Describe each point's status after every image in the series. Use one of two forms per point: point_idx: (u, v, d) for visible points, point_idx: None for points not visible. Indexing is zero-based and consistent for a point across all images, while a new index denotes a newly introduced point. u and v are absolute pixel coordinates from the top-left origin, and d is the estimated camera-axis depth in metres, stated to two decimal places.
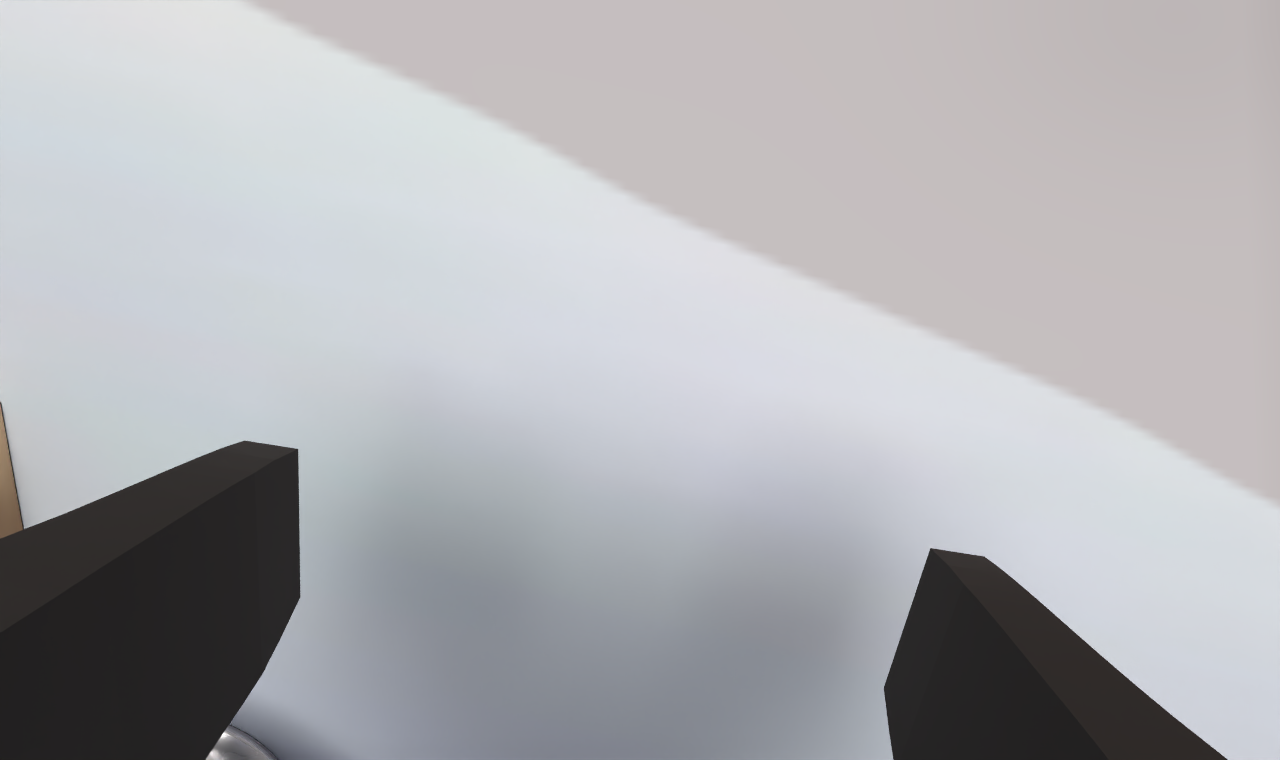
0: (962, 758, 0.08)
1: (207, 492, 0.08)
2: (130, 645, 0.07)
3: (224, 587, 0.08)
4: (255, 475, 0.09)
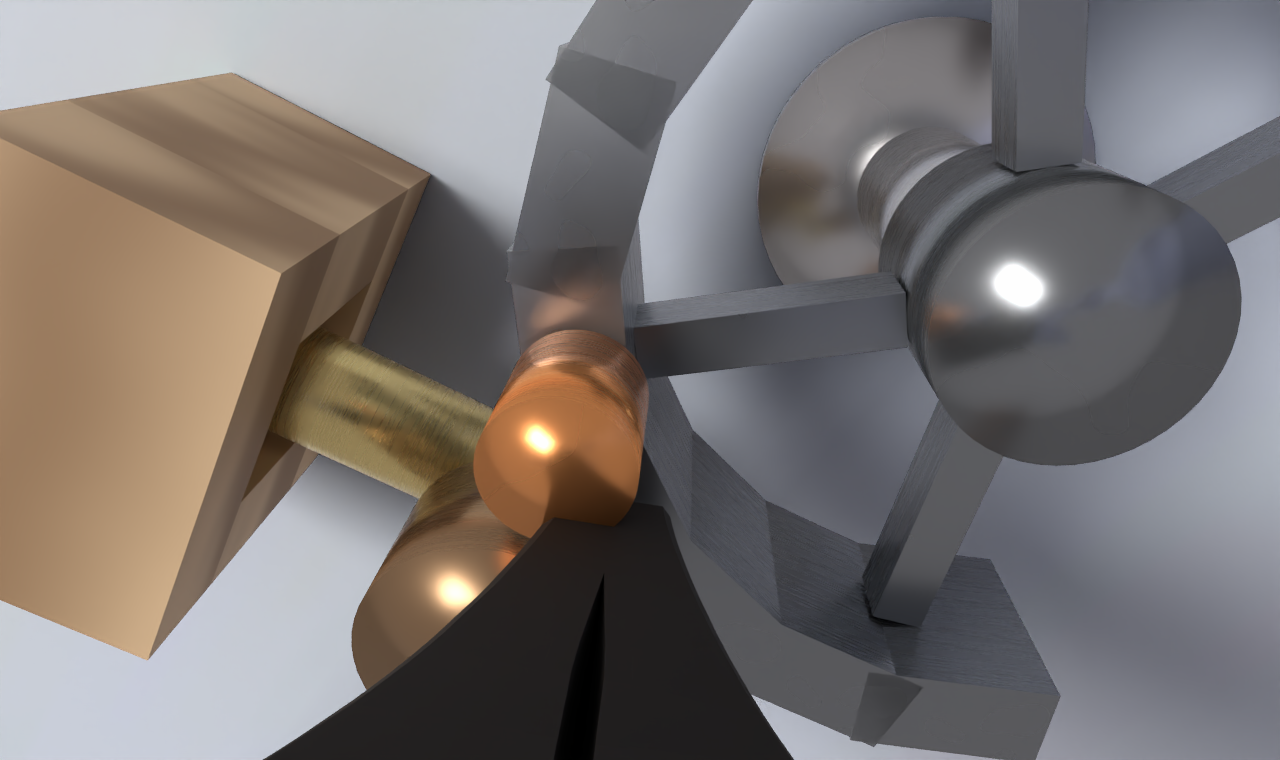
0: (584, 699, 0.08)
1: (599, 553, 0.08)
2: (571, 714, 0.07)
3: None
4: None
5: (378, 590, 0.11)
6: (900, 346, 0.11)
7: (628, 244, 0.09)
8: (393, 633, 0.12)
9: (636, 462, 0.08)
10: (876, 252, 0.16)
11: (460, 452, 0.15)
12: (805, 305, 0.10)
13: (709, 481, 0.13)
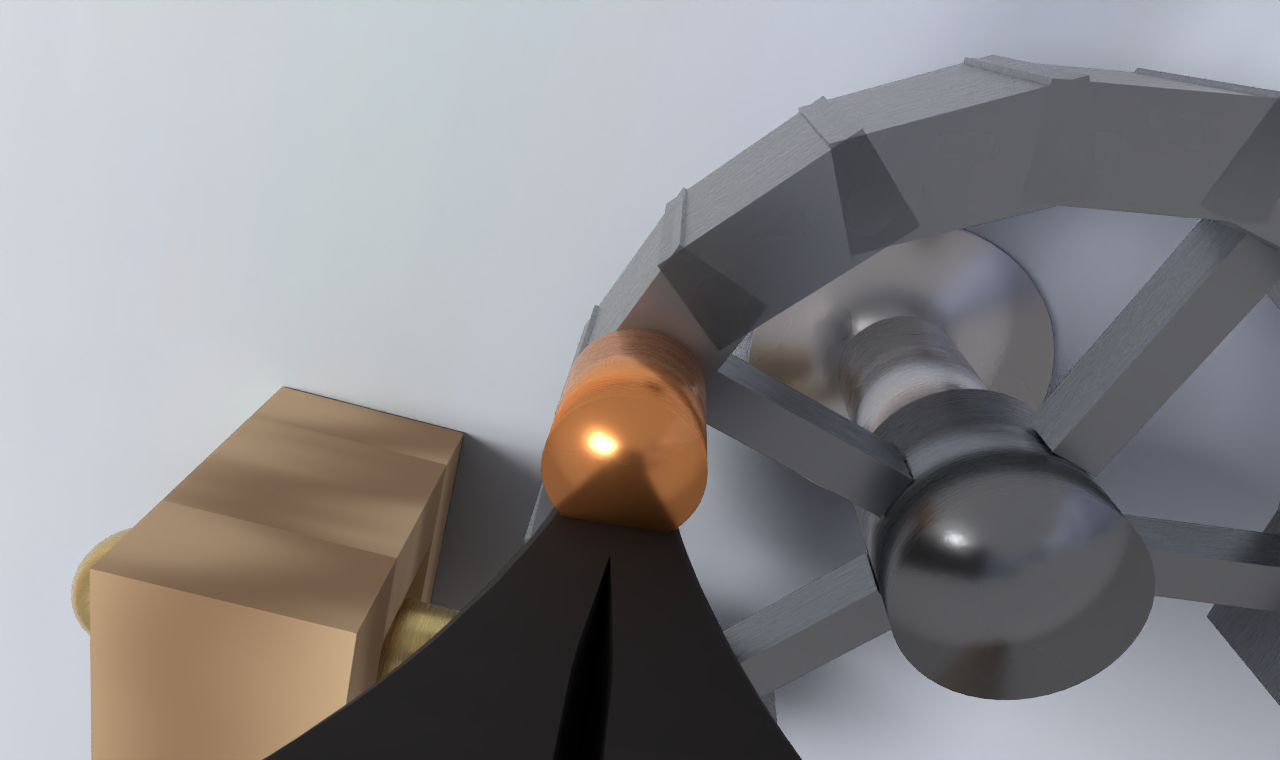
0: (591, 701, 0.08)
1: (598, 553, 0.08)
2: (570, 714, 0.07)
3: (595, 645, 0.08)
4: None
5: None
6: (876, 514, 0.12)
7: (779, 313, 0.09)
8: None
9: None
10: None
11: None
12: (836, 437, 0.11)
13: None
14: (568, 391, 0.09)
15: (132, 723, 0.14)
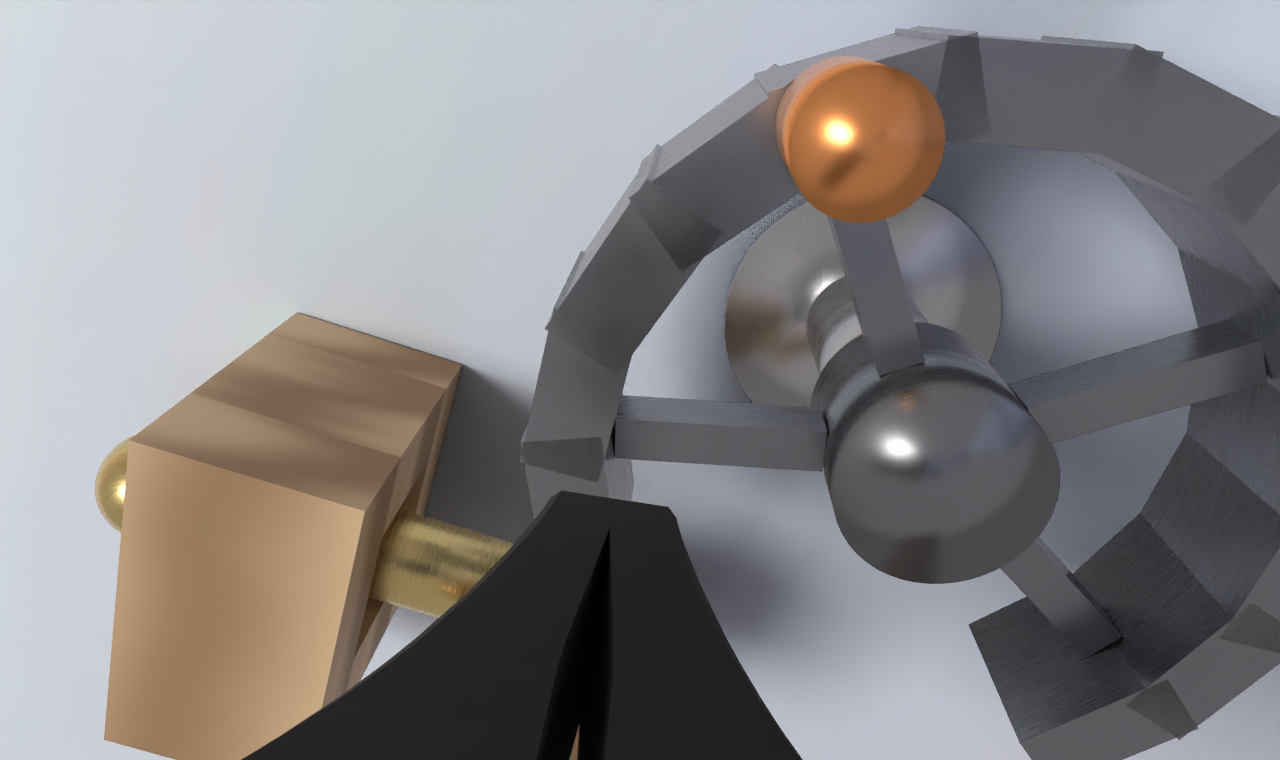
0: (591, 699, 0.08)
1: (588, 552, 0.08)
2: (559, 712, 0.07)
3: (585, 643, 0.08)
4: None
5: None
6: (879, 370, 0.13)
7: (993, 143, 0.11)
8: None
9: None
10: None
11: None
12: None
13: None
14: (845, 63, 0.09)
15: (154, 590, 0.16)
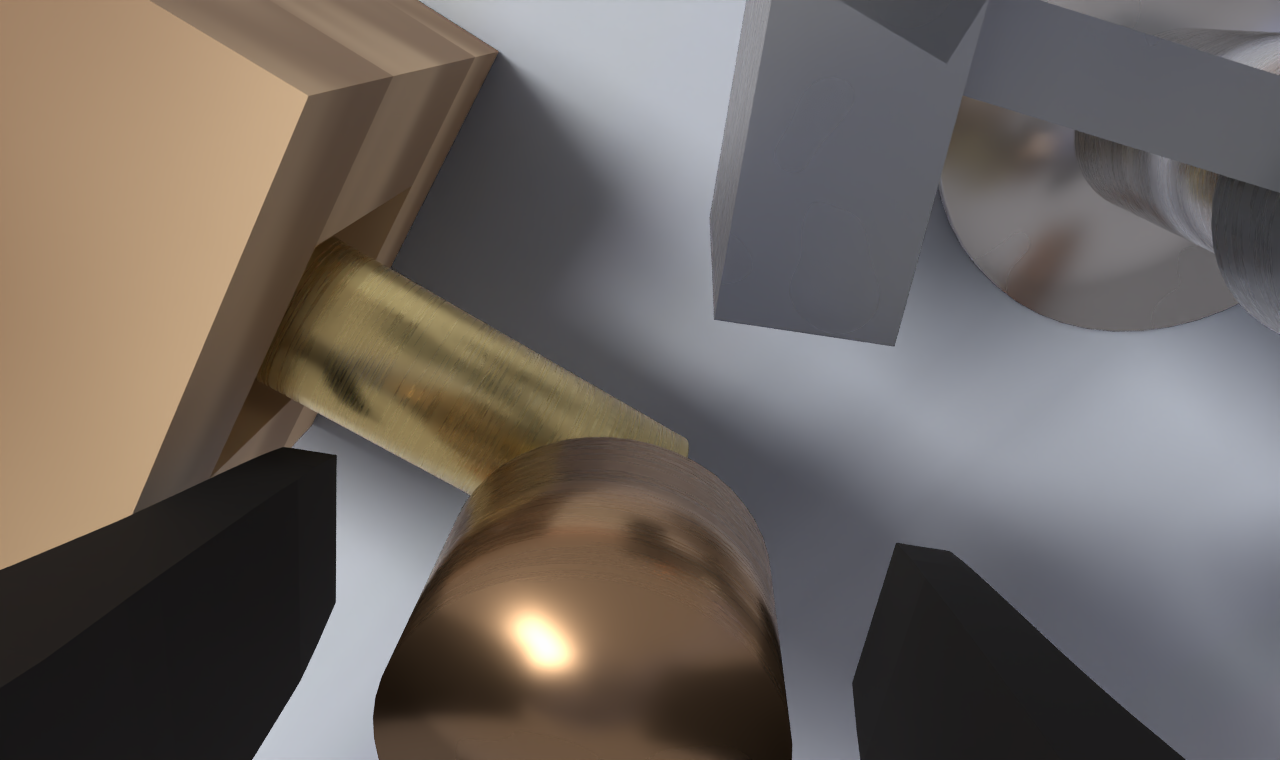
0: (922, 752, 0.08)
1: (253, 499, 0.08)
2: (182, 653, 0.07)
3: (268, 594, 0.08)
4: (297, 482, 0.09)
5: (427, 635, 0.07)
6: None
7: None
8: (442, 702, 0.07)
9: None
10: (1089, 199, 0.12)
11: (529, 427, 0.10)
12: None
13: None
14: None
15: None
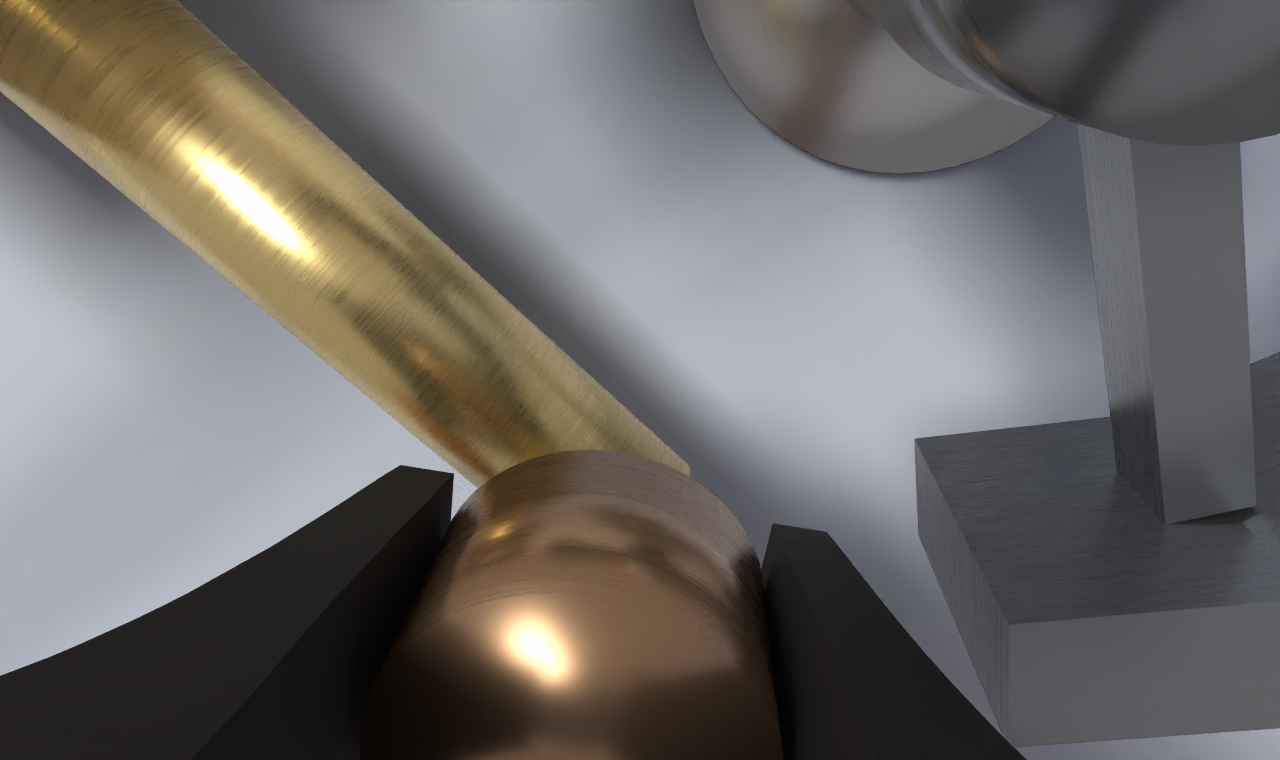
0: None
1: (394, 521, 0.08)
2: (341, 678, 0.07)
3: (402, 614, 0.08)
4: (428, 502, 0.09)
5: (445, 631, 0.07)
6: None
7: None
8: (443, 699, 0.07)
9: None
10: (836, 3, 0.11)
11: (546, 424, 0.10)
12: None
13: None
14: None
15: None
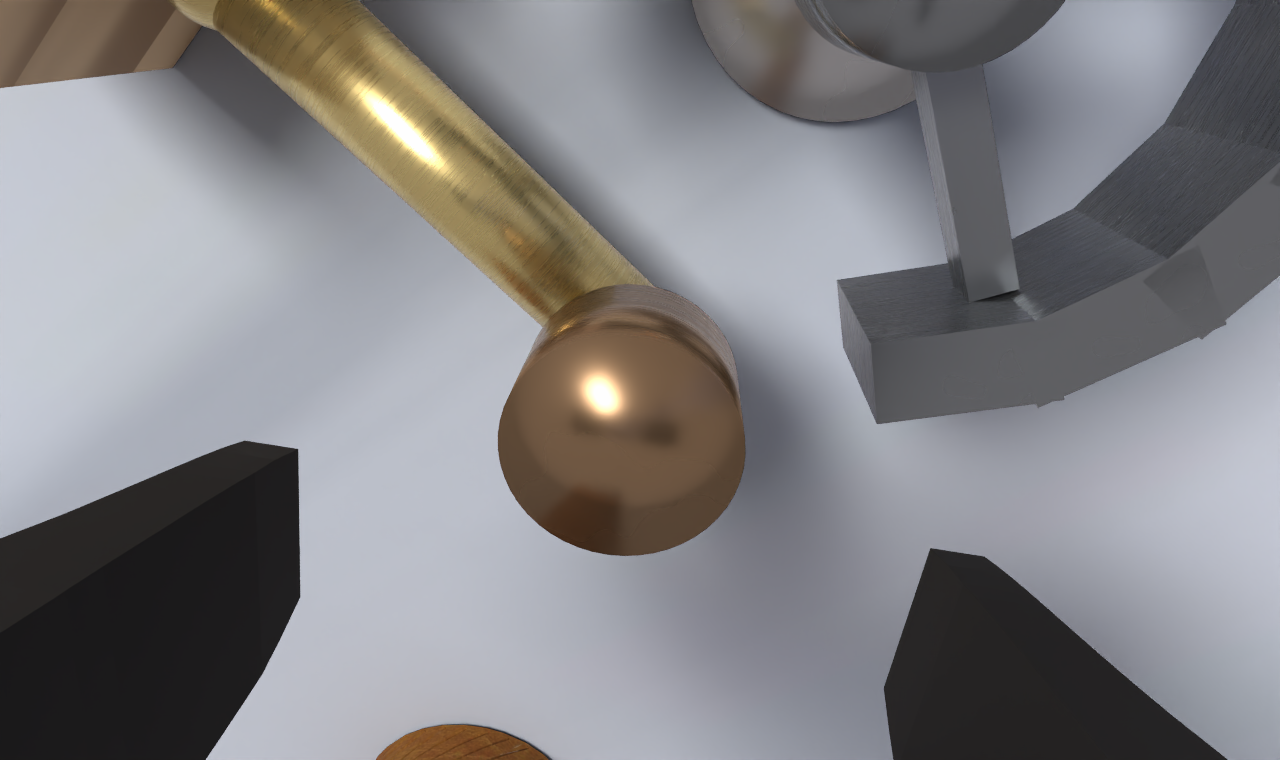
0: (963, 758, 0.08)
1: (207, 492, 0.08)
2: (130, 645, 0.07)
3: (224, 587, 0.08)
4: (255, 475, 0.09)
5: (553, 359, 0.12)
6: None
7: None
8: (549, 404, 0.12)
9: None
10: (790, 3, 0.17)
11: (596, 281, 0.15)
12: None
13: None
14: None
15: None
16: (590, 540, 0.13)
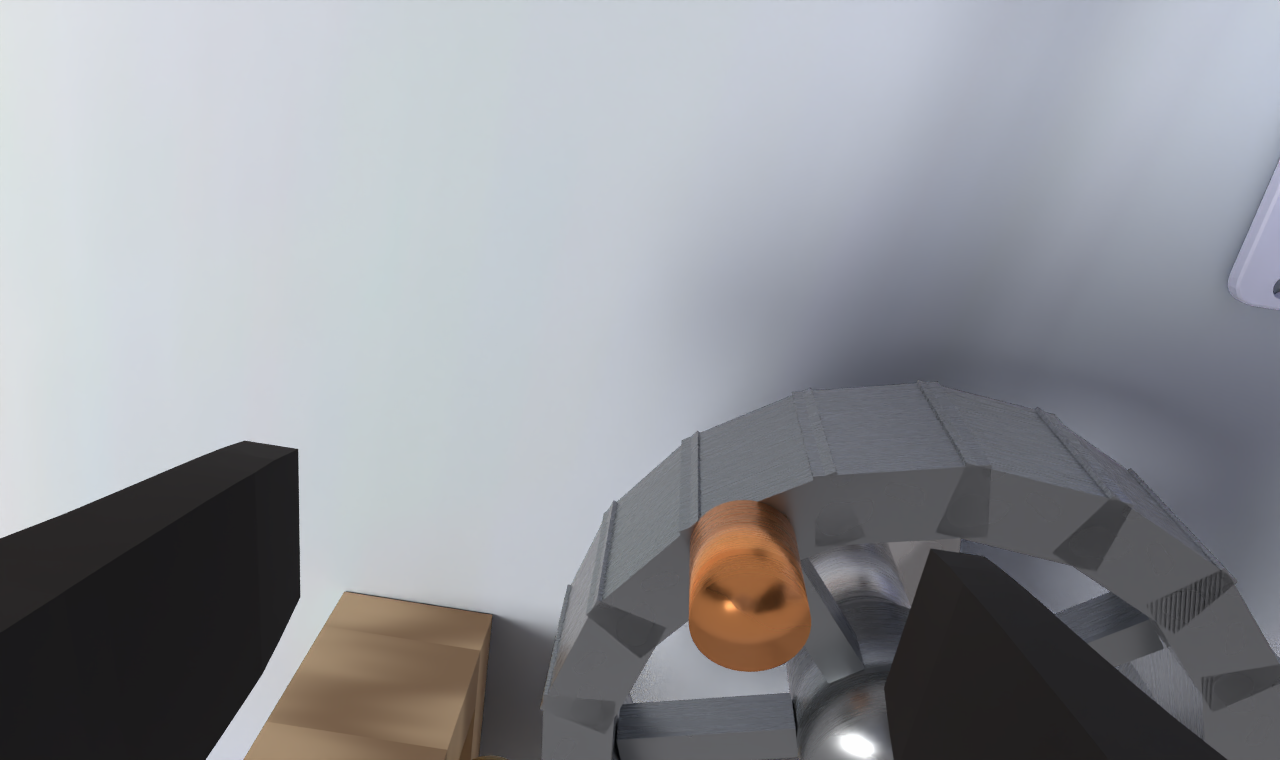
0: (963, 758, 0.08)
1: (207, 492, 0.08)
2: (130, 645, 0.07)
3: (224, 587, 0.08)
4: (255, 475, 0.09)
5: None
6: (827, 679, 0.15)
7: None
8: None
9: None
10: None
11: None
12: (834, 619, 0.15)
13: None
14: (726, 542, 0.12)
15: None
16: None
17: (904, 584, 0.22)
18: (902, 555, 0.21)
